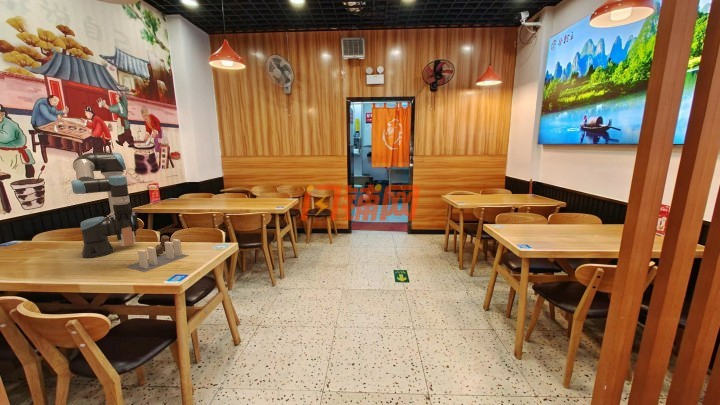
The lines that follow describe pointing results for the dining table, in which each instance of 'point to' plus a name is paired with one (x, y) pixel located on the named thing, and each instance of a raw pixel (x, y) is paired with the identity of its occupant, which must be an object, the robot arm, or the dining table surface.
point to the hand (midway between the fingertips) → (128, 243)
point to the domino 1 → (127, 236)
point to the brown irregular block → (161, 245)
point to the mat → (161, 261)
